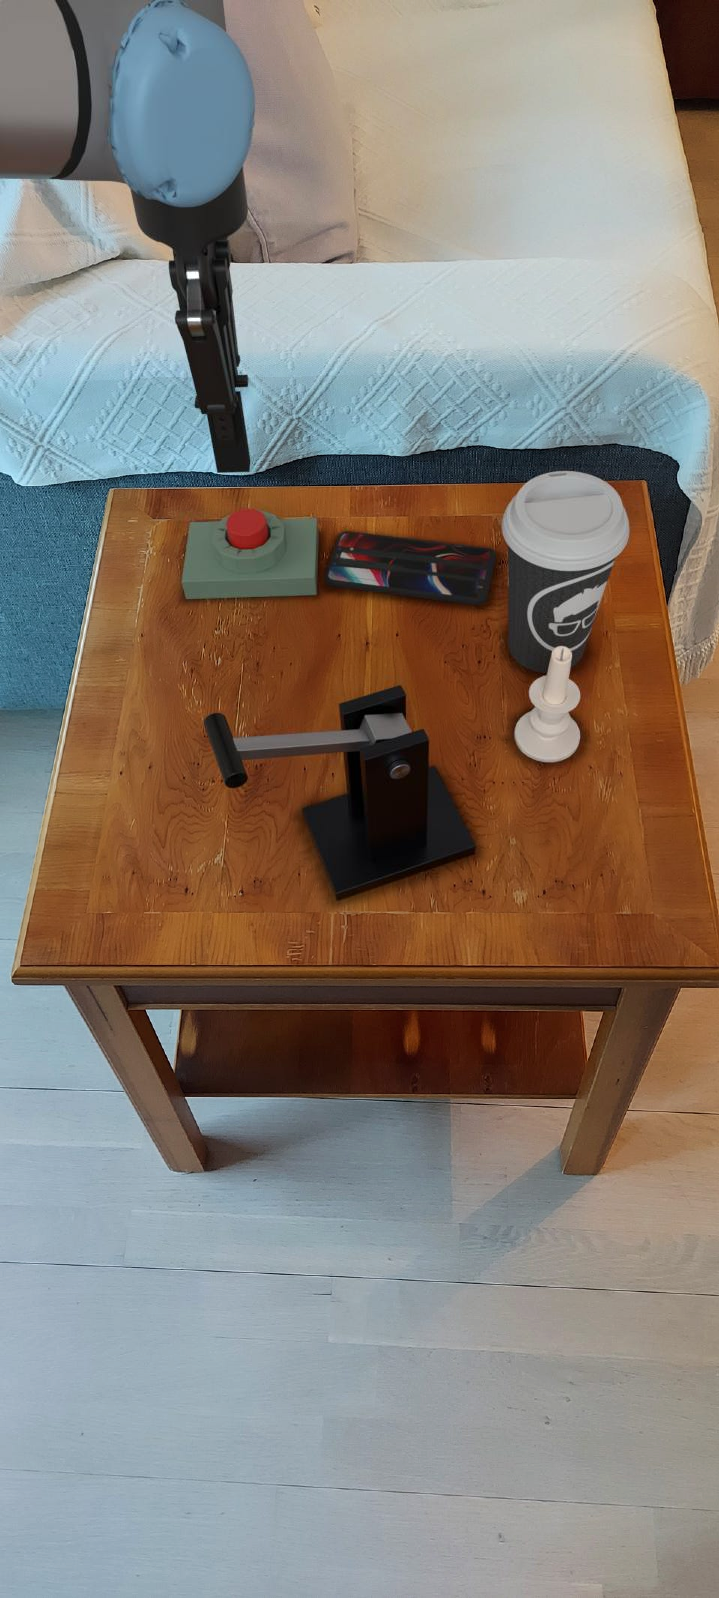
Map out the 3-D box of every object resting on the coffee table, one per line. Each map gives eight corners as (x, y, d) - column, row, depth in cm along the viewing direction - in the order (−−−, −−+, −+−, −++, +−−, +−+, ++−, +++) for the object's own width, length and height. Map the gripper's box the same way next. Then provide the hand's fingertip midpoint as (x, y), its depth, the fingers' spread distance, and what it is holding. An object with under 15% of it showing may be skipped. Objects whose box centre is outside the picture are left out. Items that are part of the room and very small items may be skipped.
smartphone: (486, 602, 88) (322, 581, 91) (486, 607, 89) (322, 586, 91) (497, 547, 92) (340, 528, 95) (497, 553, 93) (340, 534, 95)
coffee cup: (609, 615, 88) (641, 473, 76) (593, 696, 83) (625, 557, 70) (501, 597, 90) (516, 456, 77) (480, 676, 85) (492, 537, 72)
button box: (185, 599, 91) (177, 566, 88) (194, 540, 96) (186, 506, 93) (316, 595, 91) (313, 561, 88) (318, 535, 95) (315, 501, 92)
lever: (221, 794, 61) (228, 768, 59) (200, 734, 63) (206, 707, 62) (410, 776, 66) (422, 752, 64) (383, 722, 69) (394, 697, 67)
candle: (577, 766, 79) (598, 679, 70) (511, 759, 80) (523, 671, 71) (581, 715, 82) (600, 625, 73) (516, 708, 82) (529, 618, 74)
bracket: (336, 901, 73) (322, 794, 62) (302, 816, 77) (283, 701, 66) (475, 854, 75) (486, 741, 63) (434, 773, 79) (438, 654, 68)
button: (227, 550, 89) (224, 535, 88) (230, 524, 91) (227, 508, 90) (267, 549, 89) (265, 534, 88) (269, 522, 91) (267, 507, 90)
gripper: (234, 205, 61) (274, 516, 80) (247, 113, 68) (281, 418, 88) (111, 209, 61) (181, 519, 80) (138, 117, 68) (196, 421, 88)
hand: (233, 466), depth 84 cm, fingers closed
